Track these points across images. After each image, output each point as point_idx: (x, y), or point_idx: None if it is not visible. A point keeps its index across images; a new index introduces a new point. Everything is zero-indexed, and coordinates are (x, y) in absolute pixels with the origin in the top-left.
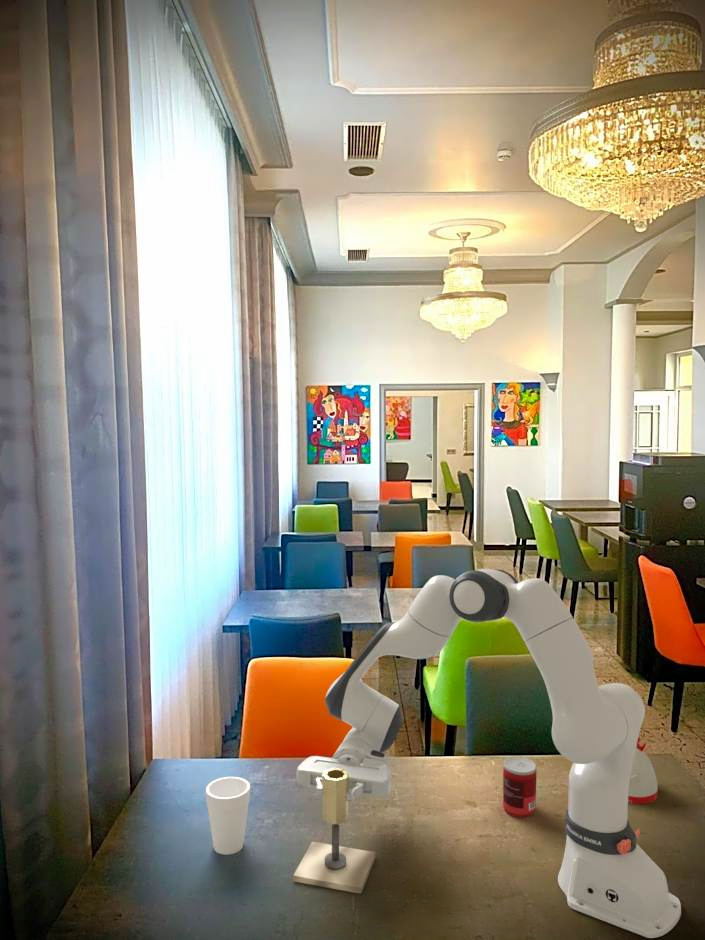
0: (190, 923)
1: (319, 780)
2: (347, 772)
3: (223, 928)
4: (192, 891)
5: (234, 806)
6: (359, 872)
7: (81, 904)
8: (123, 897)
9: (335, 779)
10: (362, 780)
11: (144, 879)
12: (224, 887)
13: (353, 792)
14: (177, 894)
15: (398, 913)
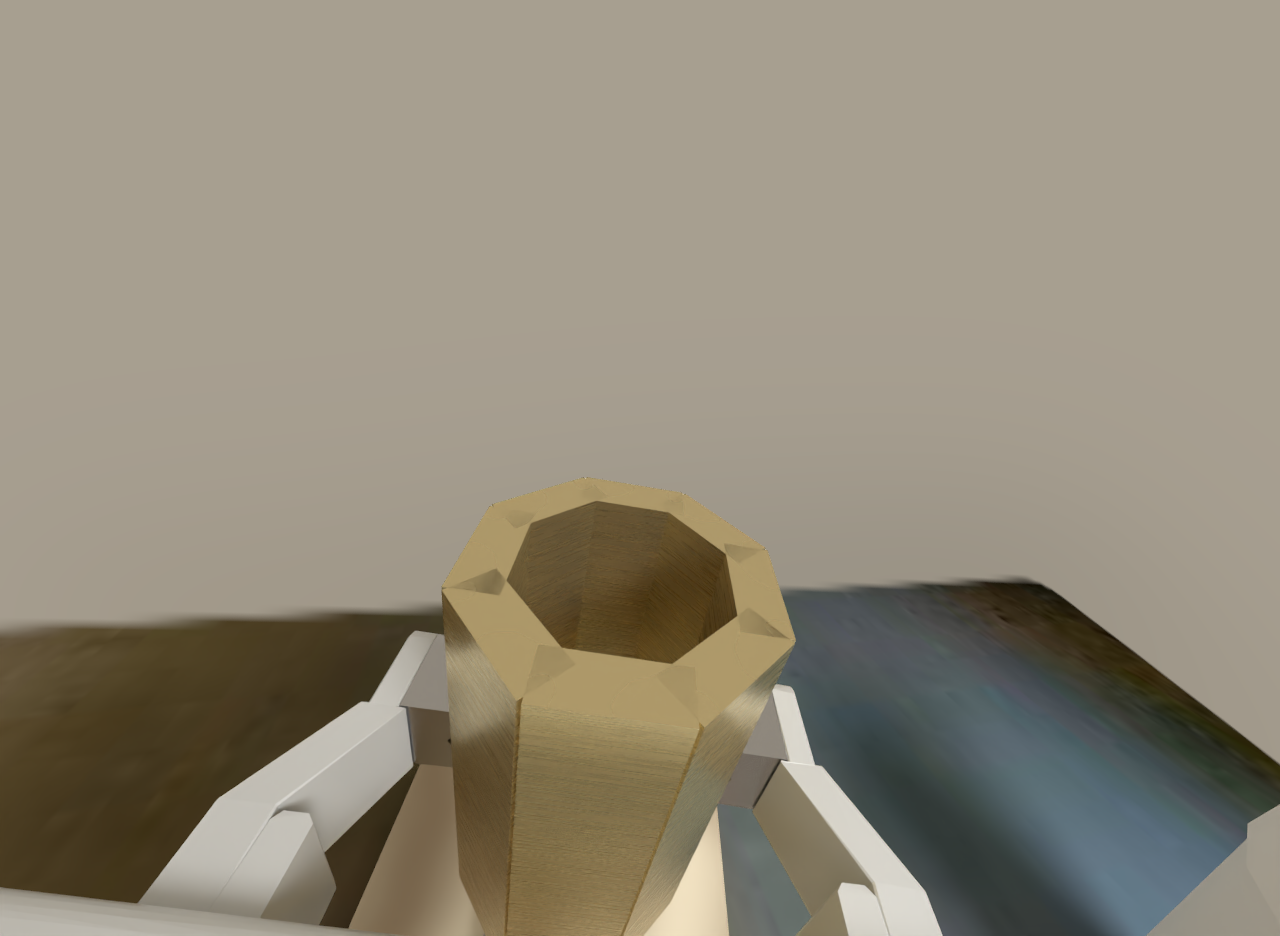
0: (858, 607)
1: (849, 841)
2: (458, 610)
3: (784, 599)
4: (960, 707)
5: (1259, 844)
6: (408, 885)
7: (1104, 639)
8: (1068, 667)
9: (603, 490)
10: (140, 904)
11: (1123, 741)
12: (900, 738)
13: (405, 643)
14: (979, 691)
15: (301, 683)
